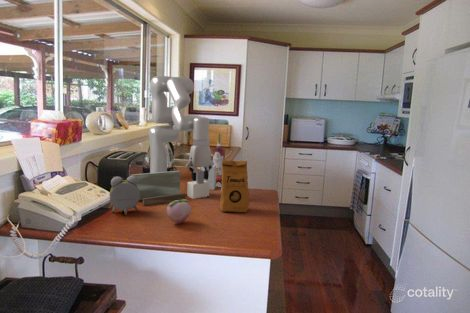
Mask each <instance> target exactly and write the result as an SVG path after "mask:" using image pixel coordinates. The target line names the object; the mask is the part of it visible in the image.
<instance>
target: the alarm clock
mask: <svg viewBox="0 0 470 313" xmlns="http://www.w3.org/2000/svg"><path fill="white" fill-rule="evenodd" d="M110 185H111V188H110V189H109V190H110V191H109V200H110V203H111V204H112V206H113V207H112V210H111V212H112V213H114V212H115V211H116V210H117V209H118V210H120V211H123V213H124V215H125V216H127V215H128V211H129V210H131V209H134V210H135V211H138V207H137V204H138V203H139V201H140V200H139V199H140V192H139V189H138V187H137V185H138V179H137V178H136V176H131V175H130V176H128V177H127V178H126V179H124V177H121V176H113V177H112V179H111V180H110Z"/></svg>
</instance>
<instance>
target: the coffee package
mask: <svg viewBox="0 0 470 313" xmlns="http://www.w3.org/2000/svg"><path fill="white" fill-rule="evenodd" d="M222 168H223V169H222V171H223V172H222V182H221V187H222V191H221V190H220V199H219V209H220V211H221V212H226V213H227V212H228V213H232V212H233V213H247V212H248V210H249V207H250V206H249V205H250V193H249V192H250V191H249V183H248V179H249V178H248V161H247V160H227V159H226V160H222Z"/></svg>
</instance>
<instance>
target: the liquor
mask: <svg viewBox="0 0 470 313" xmlns="http://www.w3.org/2000/svg"><path fill="white" fill-rule="evenodd" d="M222 137H223V134H222V133H217V134H216V138H217V142H216V147H214V148H213V149H212V161H213V162H214V165H216V183H222V172H223V171H222V169H223V168H222V160H225V159H226V149H225V148H224V147H223V145H222Z"/></svg>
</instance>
